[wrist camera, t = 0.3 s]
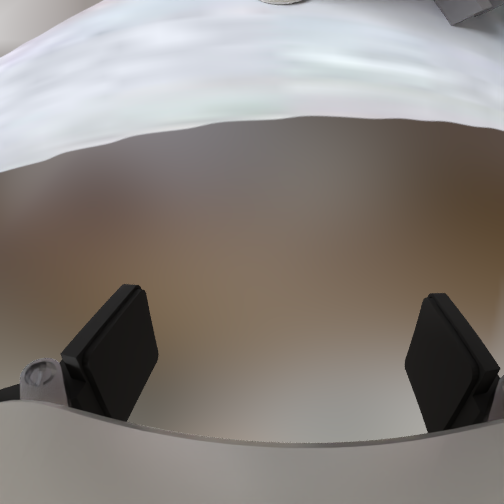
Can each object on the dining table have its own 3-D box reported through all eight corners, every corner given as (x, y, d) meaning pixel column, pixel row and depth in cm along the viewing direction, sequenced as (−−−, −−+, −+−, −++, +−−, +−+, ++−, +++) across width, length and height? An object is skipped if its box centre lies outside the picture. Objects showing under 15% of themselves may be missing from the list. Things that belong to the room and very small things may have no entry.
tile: (451, 25, 31) (482, 9, 22) (433, 0, 30) (461, -21, 21) (461, 21, 30) (492, 6, 21) (443, -4, 29) (471, -24, 20)
